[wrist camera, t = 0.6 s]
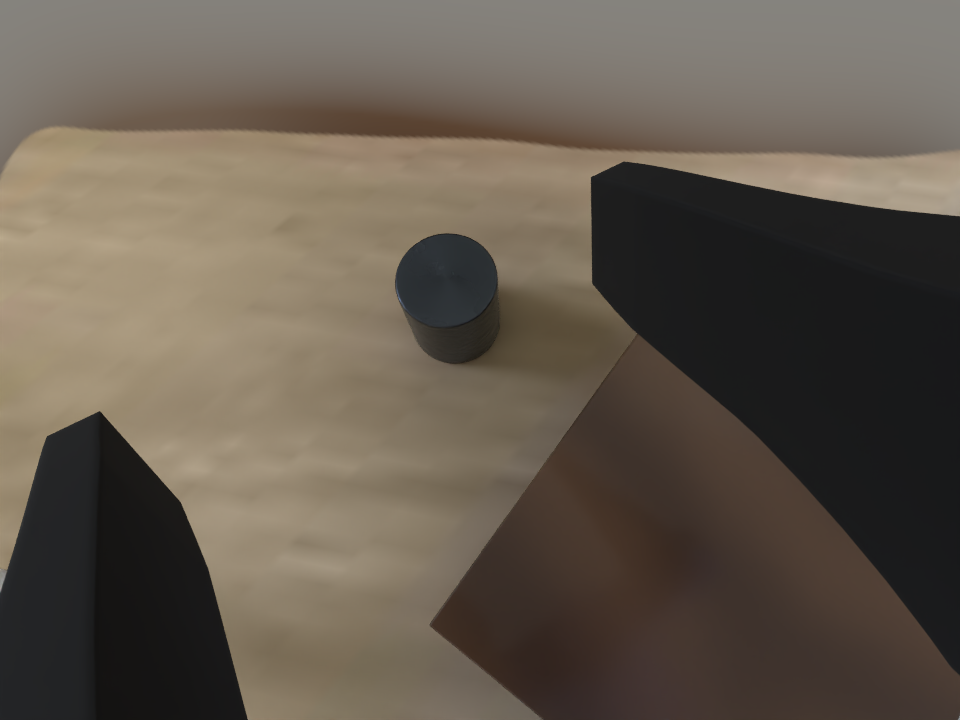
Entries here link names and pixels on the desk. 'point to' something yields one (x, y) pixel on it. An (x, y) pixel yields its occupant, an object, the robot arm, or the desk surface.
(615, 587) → the cabinet
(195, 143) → the desk surface
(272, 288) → the desk surface
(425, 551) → the desk surface
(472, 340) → the cylinder
